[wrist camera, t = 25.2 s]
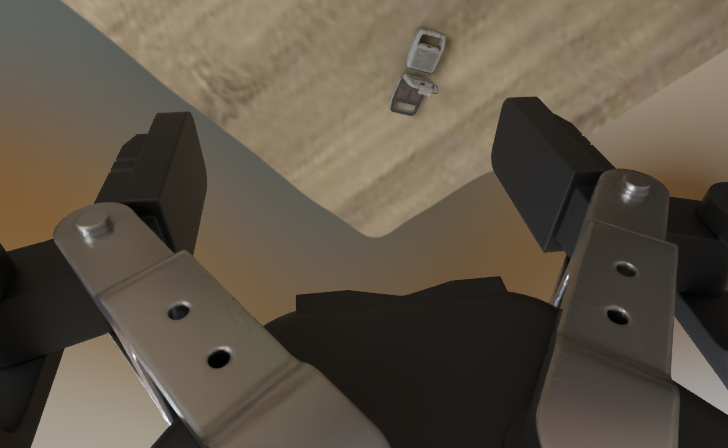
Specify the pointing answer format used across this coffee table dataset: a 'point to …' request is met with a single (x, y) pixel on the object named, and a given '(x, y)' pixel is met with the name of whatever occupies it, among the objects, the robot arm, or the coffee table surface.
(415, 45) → the strap clip
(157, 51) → the coffee table surface
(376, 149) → the coffee table surface
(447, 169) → the coffee table surface
